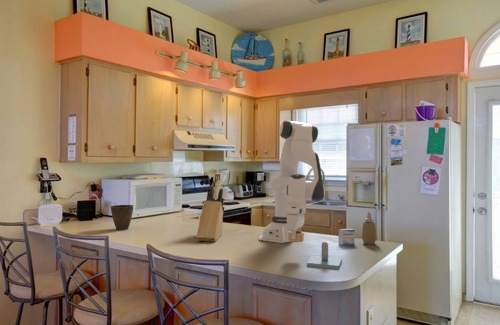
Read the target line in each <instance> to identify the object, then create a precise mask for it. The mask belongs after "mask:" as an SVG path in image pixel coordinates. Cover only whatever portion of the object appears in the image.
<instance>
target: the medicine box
mask: <svg viewBox="0 0 500 325" xmlns="http://www.w3.org/2000/svg"><path fill="white" fill-rule="evenodd" d="M355 231H356V230H355V229H353V228H338V245H340V246H355V237H356V236H355Z"/></svg>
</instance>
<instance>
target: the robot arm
mask: <svg viewBox="0 0 500 325" xmlns="http://www.w3.org/2000/svg"><path fill="white" fill-rule="evenodd" d="M278 131H279V136H280V138H282V139H283V140H284V143H283V145H282V150H281V154H280V160H279V166H280V168H279V169H280V171H279V174H278V175H276V176H275V177H274V178H272V179H271V182H270V187H271V190H272V191H273V192H272V193H273V197H274V208H275V211H274V212H275V214H274V215H273V216H272V217H271V220H272V222H270V223H269V224H267V225H266V226H265V227H264V228H263V231H262V235H260V236H259V237H258V240H259V241H262V240H263V242H272V243H279V244H280V243H281V244H283V243H291V241H289V240H288V234H289V232H290V231H291V234H292V239H296V231H301V230H302V226H304V225H305V213H307V201H311V202H318V203H319V202H320V201H322V200H323V199H324V198H325V196H326V195H325V194H326V189H325V188H326V187H325V185H324V183H323V182H324V181H323V175H322V174H323V173H322V170H321V169H322V168H321V163H320V158H319V155H318V153H317V152H315V151H314V148H313V144H314V143H315V142H316V141H317V139H318V136H319V128H318V127H317V126H316V125H313V124H308V123H304V122H300V121H291V120H284V121H282V122H281V124H280V126H279V130H278ZM300 162H301V163H303V164H306V165H307V166H310V167H311V168H312V173H313V180H307V179H306V176H305V175H304V174H298V173H299V172H298V170H299V169H298V168H299V163H300ZM301 232H302V231H301Z"/></svg>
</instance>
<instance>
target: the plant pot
mask: <svg viewBox="0 0 500 325" xmlns="http://www.w3.org/2000/svg"><path fill="white" fill-rule="evenodd" d="M110 212H111V213H110V214H111V216H112V217H111V218H112V221H113V224H114V226H115V229H116V230H117V231H126V230H129V227H130V224H131V221H132V218H133V213H134V205H133V204H117V205H111V206H110Z"/></svg>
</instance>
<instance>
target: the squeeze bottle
mask: <svg viewBox="0 0 500 325" xmlns="http://www.w3.org/2000/svg"><path fill="white" fill-rule="evenodd" d="M361 239H362V241H363V244H364V245H369V246H370V245H375V244H376V241H377V227H376V223H375V222H374V218H372V214H371V212H370V211H368V213H367V215H366V218H364V222H363V223H362V232H361Z"/></svg>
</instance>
